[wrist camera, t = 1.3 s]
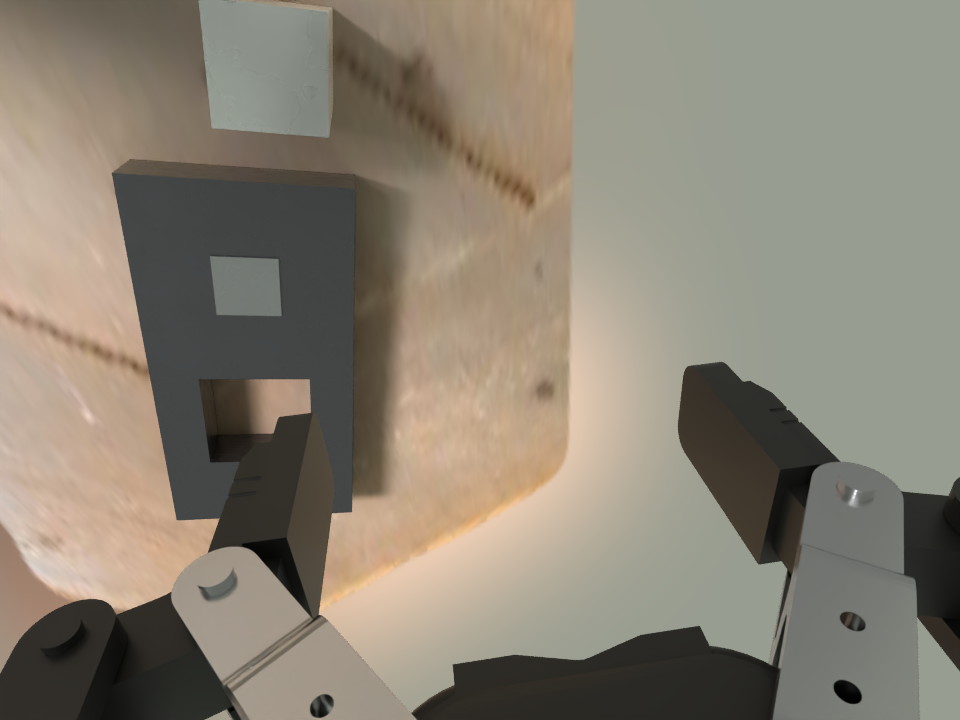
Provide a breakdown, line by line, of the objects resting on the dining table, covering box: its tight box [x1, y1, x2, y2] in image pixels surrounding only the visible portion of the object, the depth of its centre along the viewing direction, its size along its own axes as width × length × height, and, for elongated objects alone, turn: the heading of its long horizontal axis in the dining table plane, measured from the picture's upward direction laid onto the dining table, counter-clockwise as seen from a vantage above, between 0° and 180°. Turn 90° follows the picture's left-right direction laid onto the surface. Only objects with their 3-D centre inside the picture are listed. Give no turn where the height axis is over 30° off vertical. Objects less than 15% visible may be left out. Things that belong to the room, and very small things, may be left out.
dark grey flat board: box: [112, 159, 355, 520], centre depth 32 cm, size 10×20×3 cm, turn 174°
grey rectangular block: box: [198, 0, 333, 138], centre depth 24 cm, size 4×4×7 cm
